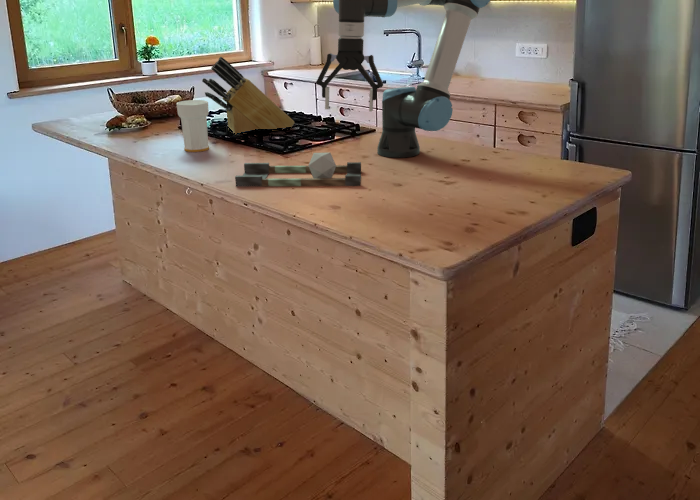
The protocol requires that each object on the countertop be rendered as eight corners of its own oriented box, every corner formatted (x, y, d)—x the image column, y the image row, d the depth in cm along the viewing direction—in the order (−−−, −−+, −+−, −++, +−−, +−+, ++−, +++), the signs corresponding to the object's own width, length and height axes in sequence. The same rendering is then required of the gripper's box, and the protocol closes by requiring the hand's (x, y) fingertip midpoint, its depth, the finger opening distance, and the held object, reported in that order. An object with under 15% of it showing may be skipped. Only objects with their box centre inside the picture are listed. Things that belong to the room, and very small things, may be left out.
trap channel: (361, 171, 227) (361, 162, 225) (360, 185, 211) (360, 176, 210) (245, 171, 228) (244, 162, 227) (235, 186, 212) (235, 176, 211)
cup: (218, 147, 261) (214, 101, 255) (197, 154, 252) (192, 105, 246) (196, 144, 267) (192, 99, 260) (174, 150, 258) (169, 103, 251)
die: (326, 186, 213) (342, 158, 213) (301, 171, 213) (317, 143, 213) (326, 188, 222) (342, 161, 222) (302, 174, 222) (318, 147, 222)
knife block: (205, 133, 287) (198, 55, 276) (286, 125, 300) (283, 51, 289) (211, 138, 277) (204, 58, 266) (295, 129, 290) (292, 53, 279)
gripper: (307, 36, 204) (306, 109, 211) (391, 39, 201) (388, 113, 208) (312, 35, 211) (311, 106, 218) (393, 38, 208) (390, 110, 215)
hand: (348, 110), depth 213 cm, fingers open, 13 cm apart
